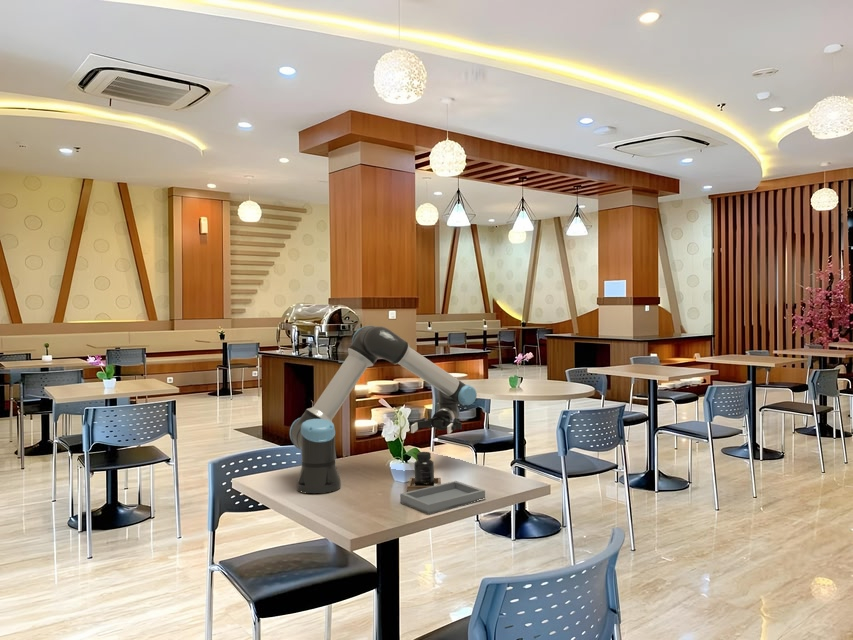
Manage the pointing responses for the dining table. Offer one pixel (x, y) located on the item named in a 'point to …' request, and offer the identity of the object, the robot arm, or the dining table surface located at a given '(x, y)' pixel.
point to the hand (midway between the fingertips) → (429, 429)
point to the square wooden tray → (412, 488)
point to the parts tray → (441, 497)
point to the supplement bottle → (424, 470)
